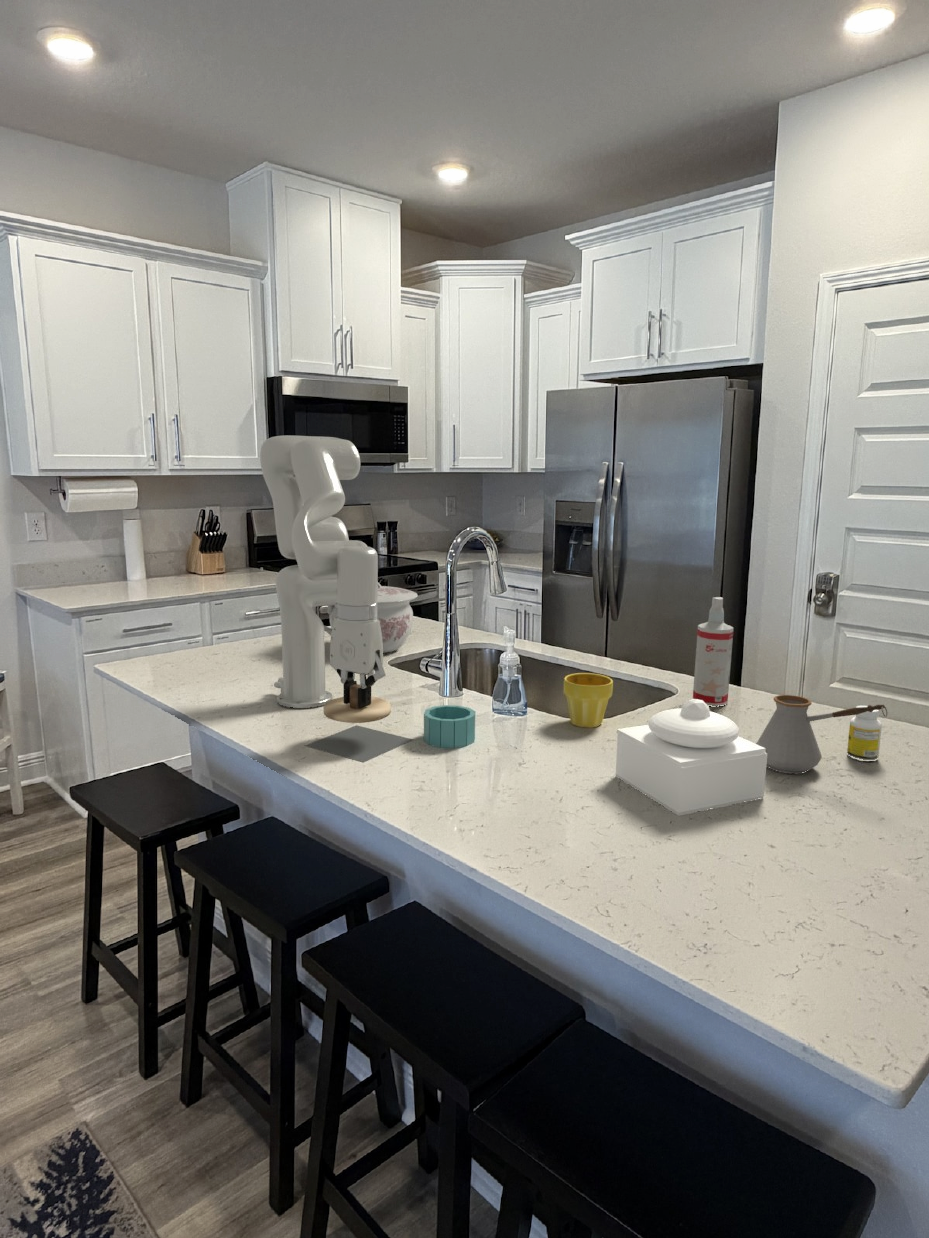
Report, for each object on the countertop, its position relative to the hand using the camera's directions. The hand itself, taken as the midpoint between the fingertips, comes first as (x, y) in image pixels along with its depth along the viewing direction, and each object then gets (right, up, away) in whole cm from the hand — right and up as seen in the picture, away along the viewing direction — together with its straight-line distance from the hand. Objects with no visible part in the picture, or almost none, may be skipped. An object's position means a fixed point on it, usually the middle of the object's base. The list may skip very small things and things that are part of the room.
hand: (357, 703), depth 154 cm
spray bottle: (+78, -3, +32) cm, 85 cm away
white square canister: (+59, -13, -17) cm, 63 cm away
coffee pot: (+84, -12, -11) cm, 86 cm away
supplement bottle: (+97, -10, -3) cm, 97 cm away
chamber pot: (-7, +7, +81) cm, 82 cm away
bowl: (+18, -8, +3) cm, 20 cm away
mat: (0, -8, +1) cm, 8 cm away
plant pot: (+47, -6, +16) cm, 50 cm away
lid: (0, -2, 0) cm, 2 cm away
